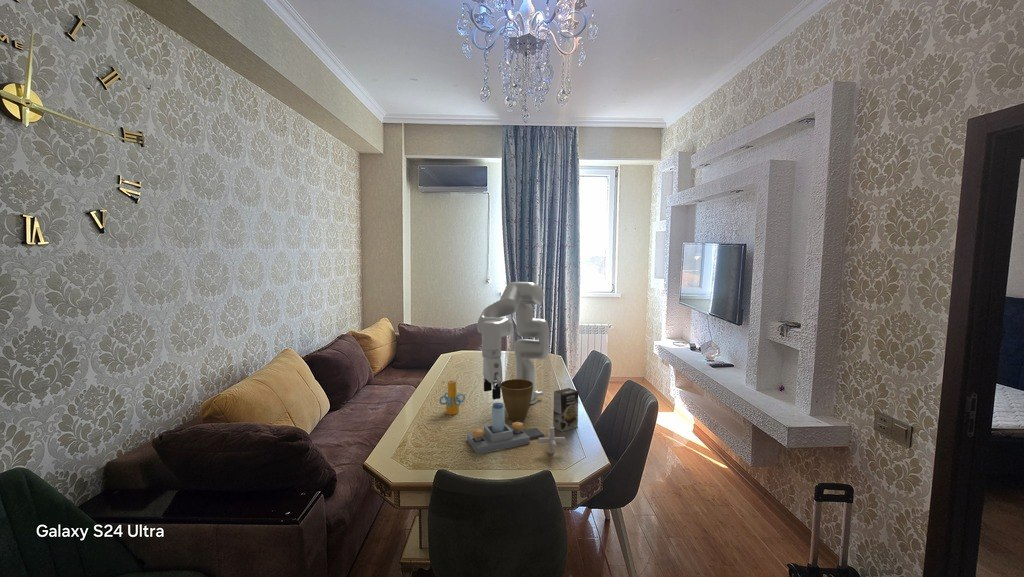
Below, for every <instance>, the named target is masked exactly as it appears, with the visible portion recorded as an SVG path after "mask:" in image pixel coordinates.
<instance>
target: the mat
mask: <svg viewBox="0 0 1024 577" xmlns="http://www.w3.org/2000/svg"><path fill="white" fill-rule="evenodd" d="M521 430H522V431H524V432H525V433H526V434H527V435H528V436H529V437H530V440H534V439H539V438H545V434H544V432H542V431H541V430H540V429H538V427H534V428H529V429H524V430H523V429H521Z"/></svg>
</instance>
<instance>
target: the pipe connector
mask: <svg viewBox="0 0 1024 577" xmlns="http://www.w3.org/2000/svg"><path fill="white" fill-rule="evenodd" d="M546 435H547V437H540V438H537V439H538V440H537V441H538V443H539V444H543V443H544V444H545V443H546V444H547V443H548V444H549V446H548V448H549V451H548V452H549V454H551V455H554V454H555V449H557V443H566V437H565V436H555V427H553V426H549V432H547V434H546Z"/></svg>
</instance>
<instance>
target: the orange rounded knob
mask: <svg viewBox="0 0 1024 577" xmlns="http://www.w3.org/2000/svg"><path fill="white" fill-rule="evenodd" d="M472 433H473V437H475V443H476V442H481V441H482V437H483V436H484V429H482V428H476V429H473V430H472Z"/></svg>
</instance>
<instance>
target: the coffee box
mask: <svg viewBox="0 0 1024 577" xmlns="http://www.w3.org/2000/svg"><path fill="white" fill-rule="evenodd" d="M552 416H553V417H552V419H553V420H552V421H553V422H552V427H554V429H556V430H558V431H559V432H565V431H569V430H572V429H576V428H578V425H579V424H578V423H579V391H578V390H575V389H573V388H570V387H567V388H564V389H559V390H554V391H553V415H552Z"/></svg>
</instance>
